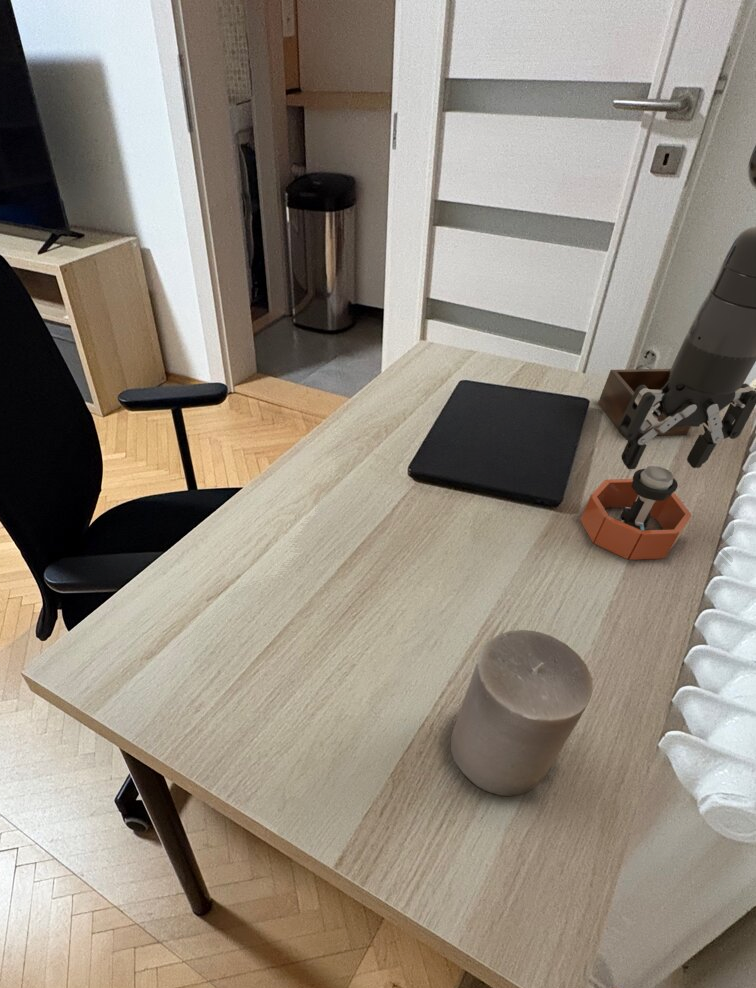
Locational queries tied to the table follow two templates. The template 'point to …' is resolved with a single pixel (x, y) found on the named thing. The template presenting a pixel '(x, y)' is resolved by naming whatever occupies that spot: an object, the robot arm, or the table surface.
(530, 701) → the pillar candle
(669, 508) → the bowl
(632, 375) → the box
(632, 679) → the table surface
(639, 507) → the push button
